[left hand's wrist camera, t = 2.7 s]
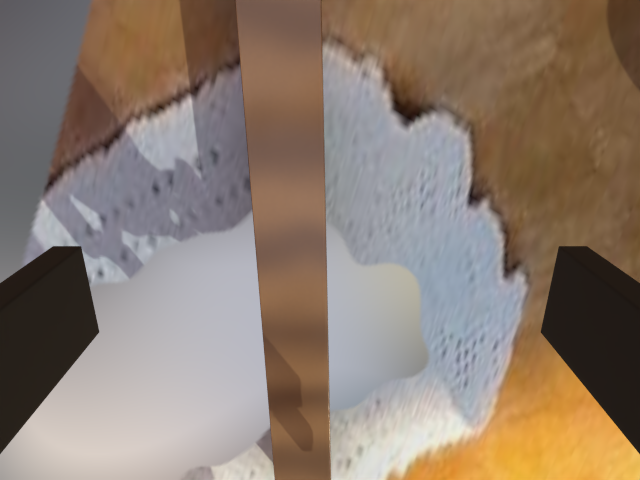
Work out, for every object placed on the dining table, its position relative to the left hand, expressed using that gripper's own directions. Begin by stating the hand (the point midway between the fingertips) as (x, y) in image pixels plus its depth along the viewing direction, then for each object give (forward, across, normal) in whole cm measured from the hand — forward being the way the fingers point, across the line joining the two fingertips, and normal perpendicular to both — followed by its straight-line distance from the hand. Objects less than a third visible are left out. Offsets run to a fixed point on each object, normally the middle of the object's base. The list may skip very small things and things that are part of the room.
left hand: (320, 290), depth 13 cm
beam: (+27, -2, -13) cm, 30 cm away
